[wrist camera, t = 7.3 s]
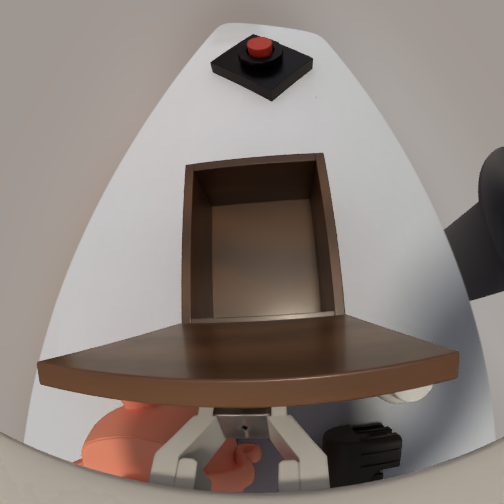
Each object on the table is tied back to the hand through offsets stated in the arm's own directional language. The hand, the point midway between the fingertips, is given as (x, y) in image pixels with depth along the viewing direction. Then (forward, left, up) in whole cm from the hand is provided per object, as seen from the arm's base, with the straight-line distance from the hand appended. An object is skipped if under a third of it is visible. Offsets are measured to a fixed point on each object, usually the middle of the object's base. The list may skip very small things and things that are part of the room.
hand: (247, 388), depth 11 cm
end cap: (-15, +4, -21) cm, 26 cm away
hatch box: (+7, -7, -20) cm, 23 cm away
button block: (+27, -30, -20) cm, 45 cm away
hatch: (+1, -1, -3) cm, 4 cm away
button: (+27, -30, -17) cm, 44 cm away
